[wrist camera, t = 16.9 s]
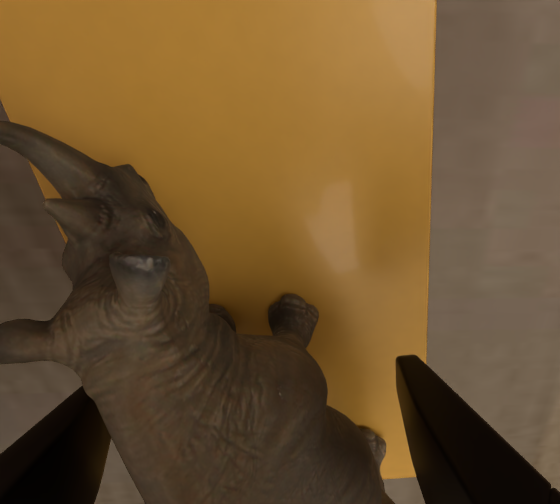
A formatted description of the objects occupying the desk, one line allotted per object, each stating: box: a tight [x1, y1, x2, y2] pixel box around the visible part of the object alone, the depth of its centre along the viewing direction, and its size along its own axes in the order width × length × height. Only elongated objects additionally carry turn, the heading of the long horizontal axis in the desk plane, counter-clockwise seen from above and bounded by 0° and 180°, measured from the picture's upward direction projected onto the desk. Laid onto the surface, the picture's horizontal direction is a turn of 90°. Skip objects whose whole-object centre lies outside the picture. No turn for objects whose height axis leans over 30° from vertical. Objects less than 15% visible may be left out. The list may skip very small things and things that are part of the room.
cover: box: [0, 0, 437, 479], centre depth 12 cm, size 9×16×1 cm, turn 8°
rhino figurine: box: [0, 121, 395, 504], centre depth 9 cm, size 4×14×6 cm, turn 27°
